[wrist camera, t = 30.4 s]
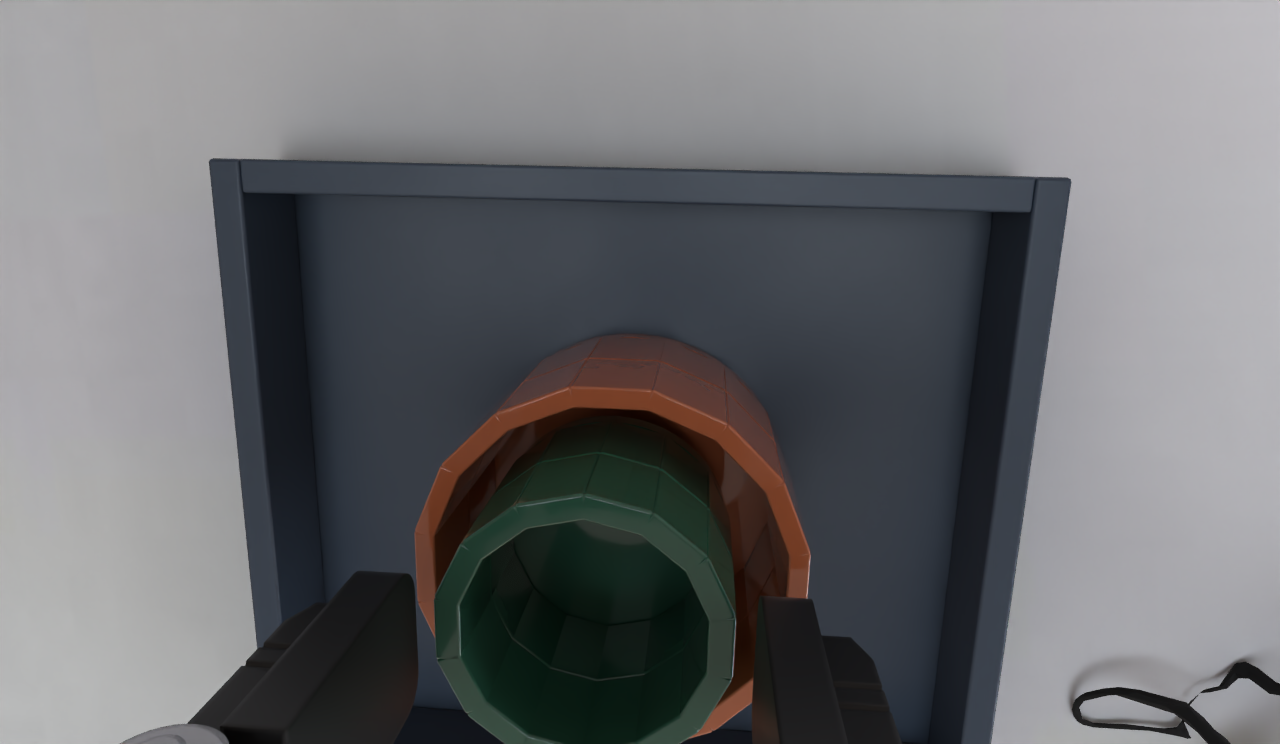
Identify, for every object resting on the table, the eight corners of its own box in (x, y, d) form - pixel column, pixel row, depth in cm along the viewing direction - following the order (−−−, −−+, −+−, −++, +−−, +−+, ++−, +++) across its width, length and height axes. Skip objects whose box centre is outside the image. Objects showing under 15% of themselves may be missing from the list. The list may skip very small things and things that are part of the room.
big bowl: (489, 605, 19) (423, 736, 14) (482, 327, 17) (406, 379, 13) (775, 623, 18) (795, 764, 14) (794, 338, 17) (823, 397, 12)
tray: (321, 707, 20) (268, 778, 18) (277, 160, 17) (207, 158, 15) (945, 752, 19) (979, 835, 17) (1019, 176, 16) (1073, 177, 14)
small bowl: (502, 622, 16) (438, 761, 13) (498, 407, 15) (427, 486, 11) (722, 636, 16) (727, 783, 12) (734, 417, 15) (744, 503, 11)
